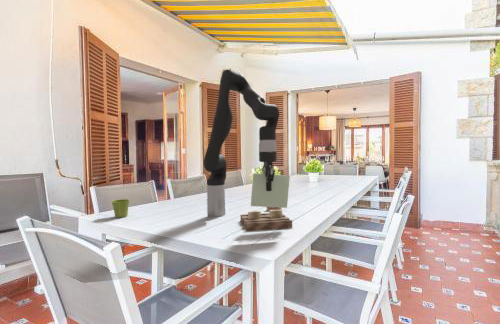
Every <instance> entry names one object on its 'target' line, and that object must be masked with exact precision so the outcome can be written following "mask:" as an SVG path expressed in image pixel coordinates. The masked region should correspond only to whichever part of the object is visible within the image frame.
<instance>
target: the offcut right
mask: <svg viewBox="0 0 500 324" xmlns="http://www.w3.org/2000/svg"><path fill="white" fill-rule="evenodd" d="M268 213H270V218H275V217H282V214H283V210H269V211H268Z"/></svg>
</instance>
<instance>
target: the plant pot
mask: <svg viewBox="0 0 500 324" xmlns="http://www.w3.org/2000/svg"><path fill="white" fill-rule="evenodd" d="M130 201H131V200H130V199H125V198H123V199H116V200H111V201H110V203H111V205H112V207H113V212H114V217H115V218H118V219H119V218H126V217H128V215H129V214H128V212H129V204H130Z"/></svg>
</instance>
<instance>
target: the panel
mask: <svg viewBox="0 0 500 324" xmlns="http://www.w3.org/2000/svg"><path fill="white" fill-rule="evenodd" d="M290 177H291V176H290V175H284V174H283V175H282V174H274V179H273V181H272V182H271V186H272V190H271V191H266V177H265V174H263V173H256V172H255V173H254V172H253V175H252V187H251V198H250V206H251V207H261V208H262V207H263V208H267V207H280V208H283V209H287V208H288V200H289V187H290ZM269 179H270V178H269Z"/></svg>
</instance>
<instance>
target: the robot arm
mask: <svg viewBox="0 0 500 324" xmlns="http://www.w3.org/2000/svg"><path fill="white" fill-rule="evenodd" d="M218 90H219V91H218V99H217V103H216V110H215V113H214V118H213V122H212V128H211V133H210V137H209V141H208V145H207V149H206V152H205V154H204V158H203V167H204V170H205V171H207V172H208V173H210V175H209V177H208V178H207V180H206V196H207V197H206V198H207V199H206V216H207V218H212V217H213V218H215V217H218V218H219V217H224V216H225V215H226V190H225V189H226V186H225V185H226V179H227V159H226V157H225V156H224V154H221V151H222V150H221V149H222V146H223V144H224V142H225V141H226V139H227V137H228V136H229V134H230V133H231V129H232V124H233V120H234V119H233V118H234V117H233V116H234V115H233V112H232V109H231V108H232V107H231V104H230V99H229V98H230V91H232V92H238V93H240V95H242V97H243V98H242V99H243V100H244V103H245V104H246V105H247V106H248V107H249V108H250V109H251V111H252V113H253V115H254V117H255V118H256V119H257V120H259V121H266V123H265V124H266V125H263V126H260V127H259V130H258V135H259V137H258V139H259V141H258V161H259V162H261V163H263V166H262V168H261V171H262V173H261V174H265V177H266V191H271V190H272V186H271V182H272V181H273V179H274V175H276V174H275V173H276V172H275V171H276V170H275V169H274V164H273V163H274V162H277V161H278V160H277V158H278V157H277V154H278V153H277V141H276V140H277V137H276V135H277V134H276V130H277V126H278V123H279V122H278V121H279V117H280V109H279V107H278V106H277V105H276V104H274V103H266V99H265V98H264V97H263V96H262V95H261V94H260V93H258V92H257V90H255V89H254V88H253V86H251V84H250V83H249V81H248V80H247V79H246V77H245V76H244V75H243V74H242V73H240V72H238V71H235V70H231V69H225V70H223V72H222V74H221V77H220V82H219V89H218ZM269 178H270V179H269Z"/></svg>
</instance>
